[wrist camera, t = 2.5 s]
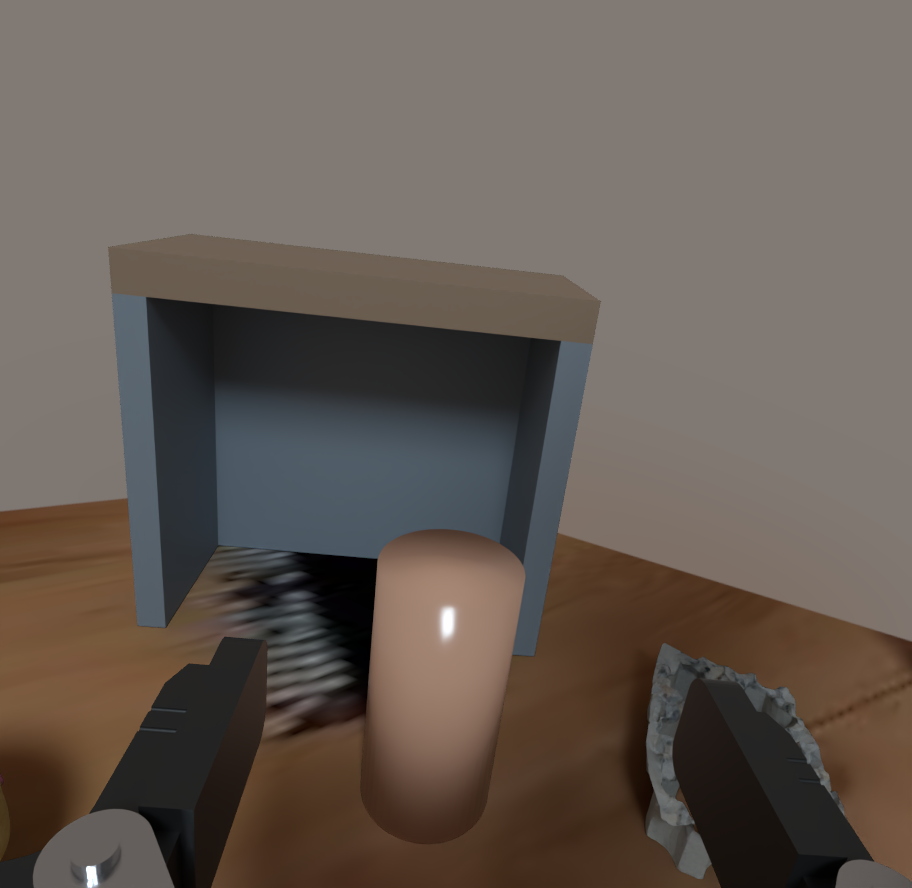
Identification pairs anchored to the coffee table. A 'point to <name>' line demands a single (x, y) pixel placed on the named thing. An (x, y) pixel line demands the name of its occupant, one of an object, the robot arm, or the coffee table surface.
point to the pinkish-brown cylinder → (437, 680)
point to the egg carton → (664, 711)
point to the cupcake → (3, 822)
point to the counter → (340, 405)
